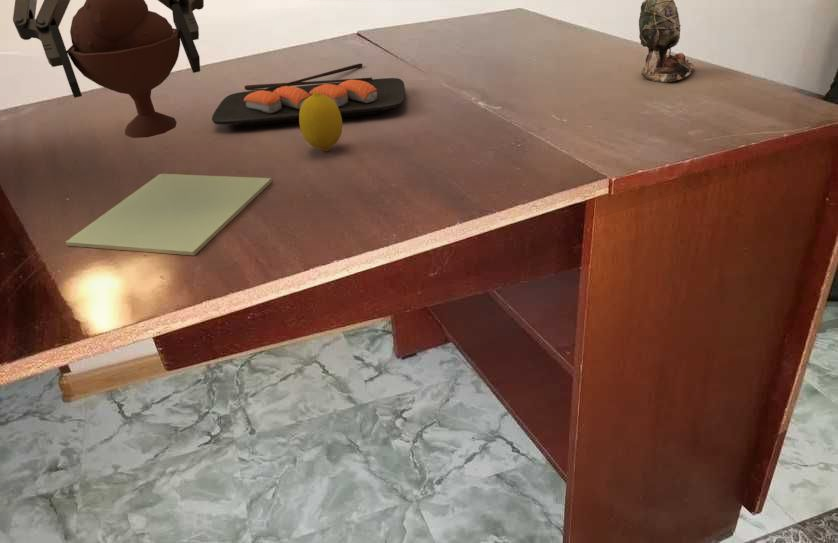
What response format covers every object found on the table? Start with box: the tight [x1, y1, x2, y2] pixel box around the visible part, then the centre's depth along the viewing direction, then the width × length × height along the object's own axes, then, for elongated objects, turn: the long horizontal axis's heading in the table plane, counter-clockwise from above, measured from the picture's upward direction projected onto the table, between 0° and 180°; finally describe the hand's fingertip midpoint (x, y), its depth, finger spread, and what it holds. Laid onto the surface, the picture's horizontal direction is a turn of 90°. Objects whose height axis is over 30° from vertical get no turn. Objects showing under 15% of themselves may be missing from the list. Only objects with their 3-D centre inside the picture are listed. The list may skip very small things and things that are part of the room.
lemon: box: [298, 92, 343, 152], centre depth 91 cm, size 6×6×8 cm
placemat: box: [65, 173, 273, 257], centre depth 81 cm, size 16×18×1 cm
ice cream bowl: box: [66, 0, 181, 139], centre depth 72 cm, size 11×11×15 cm
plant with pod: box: [638, 0, 695, 83], centre depth 103 cm, size 8×11×20 cm
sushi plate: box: [211, 62, 406, 127], centre depth 114 cm, size 29×30×4 cm
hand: (137, 77), depth 70 cm, fingers closed on ice cream bowl, 11 cm apart
